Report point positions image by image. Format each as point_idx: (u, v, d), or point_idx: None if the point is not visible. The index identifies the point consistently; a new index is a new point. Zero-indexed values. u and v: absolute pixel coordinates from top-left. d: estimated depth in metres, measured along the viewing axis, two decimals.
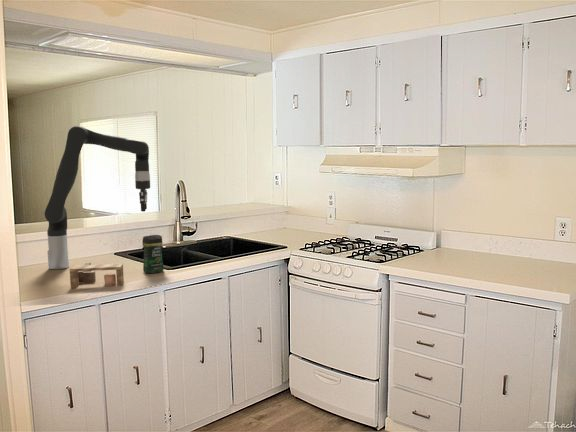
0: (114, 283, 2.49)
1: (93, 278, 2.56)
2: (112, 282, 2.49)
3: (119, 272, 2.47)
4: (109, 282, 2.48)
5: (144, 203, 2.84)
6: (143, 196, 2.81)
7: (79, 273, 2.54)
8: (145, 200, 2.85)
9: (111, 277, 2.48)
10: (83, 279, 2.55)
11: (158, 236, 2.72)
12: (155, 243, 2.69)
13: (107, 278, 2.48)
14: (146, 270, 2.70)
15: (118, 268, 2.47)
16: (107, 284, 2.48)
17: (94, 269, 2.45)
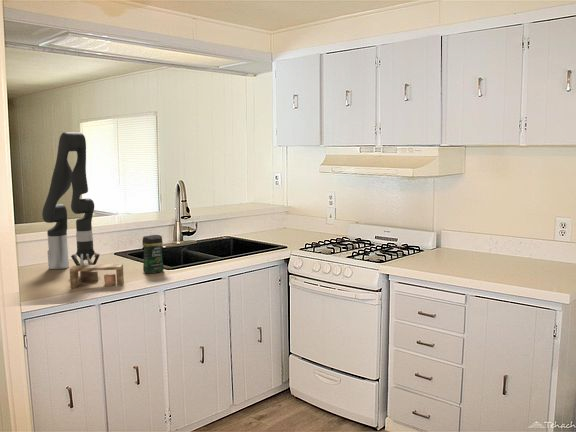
0: (114, 283, 2.49)
1: (96, 277, 2.57)
2: (112, 282, 2.49)
3: (119, 272, 2.47)
4: (109, 282, 2.48)
5: None
6: None
7: (82, 273, 2.55)
8: None
9: (111, 277, 2.48)
10: (86, 279, 2.55)
11: (158, 236, 2.72)
12: (155, 243, 2.69)
13: (107, 278, 2.48)
14: (146, 270, 2.70)
15: (118, 268, 2.47)
16: (107, 284, 2.48)
17: (94, 269, 2.45)
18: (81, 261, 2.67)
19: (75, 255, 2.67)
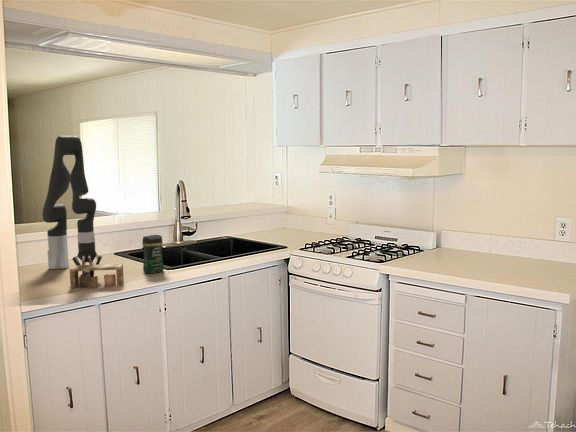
0: (114, 283, 2.49)
1: (95, 283, 2.45)
2: (112, 282, 2.49)
3: (119, 272, 2.47)
4: (109, 282, 2.48)
5: None
6: (100, 260, 2.59)
7: (81, 278, 2.44)
8: None
9: (111, 277, 2.48)
10: (85, 284, 2.45)
11: (158, 236, 2.72)
12: (155, 243, 2.69)
13: (107, 278, 2.48)
14: (146, 270, 2.70)
15: (118, 268, 2.47)
16: (107, 284, 2.48)
17: (94, 269, 2.45)
18: (83, 263, 2.55)
19: (76, 257, 2.56)
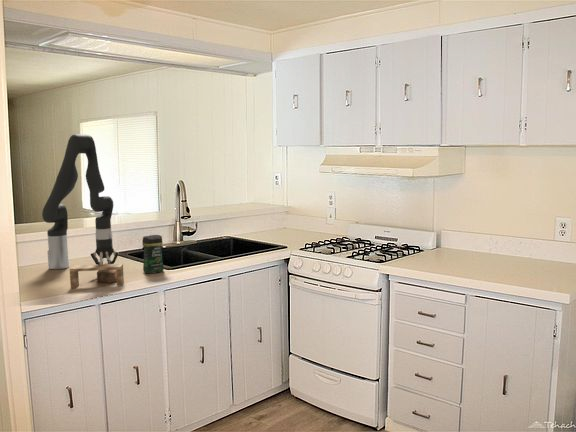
0: None
1: (112, 278, 2.54)
2: (115, 278, 2.57)
3: (119, 272, 2.47)
4: None
5: None
6: (117, 256, 2.68)
7: (99, 273, 2.53)
8: None
9: None
10: (102, 279, 2.54)
11: (158, 236, 2.72)
12: (155, 243, 2.69)
13: None
14: (146, 270, 2.70)
15: (118, 268, 2.47)
16: None
17: (94, 269, 2.45)
18: (100, 259, 2.65)
19: (94, 253, 2.65)
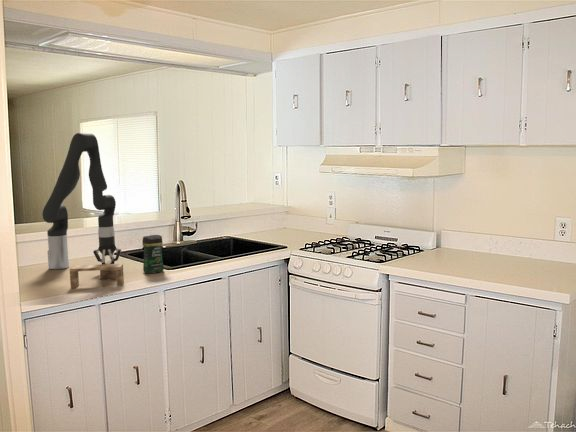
0: None
1: (115, 276, 2.60)
2: None
3: (119, 272, 2.47)
4: None
5: None
6: (119, 253, 2.74)
7: (102, 271, 2.59)
8: None
9: None
10: (105, 276, 2.59)
11: (158, 236, 2.72)
12: (155, 243, 2.69)
13: None
14: (146, 270, 2.70)
15: (118, 268, 2.47)
16: None
17: (94, 269, 2.45)
18: (103, 257, 2.71)
19: (97, 251, 2.71)
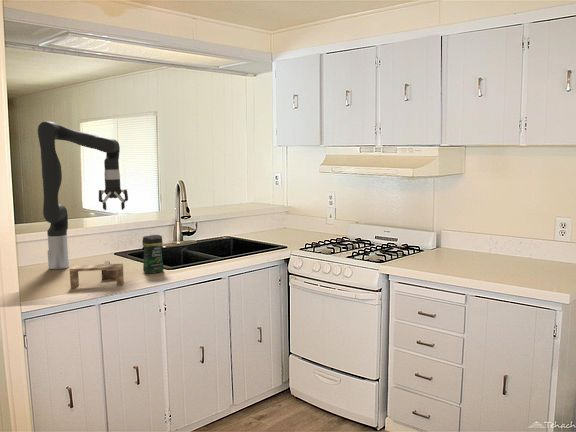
0: None
1: None
2: None
3: (119, 272, 2.47)
4: None
5: None
6: None
7: (103, 271, 2.59)
8: None
9: None
10: (107, 276, 2.59)
11: (158, 236, 2.72)
12: (155, 243, 2.69)
13: None
14: (146, 270, 2.70)
15: (118, 268, 2.47)
16: None
17: (94, 269, 2.45)
18: (106, 198, 2.79)
19: (102, 191, 2.80)
